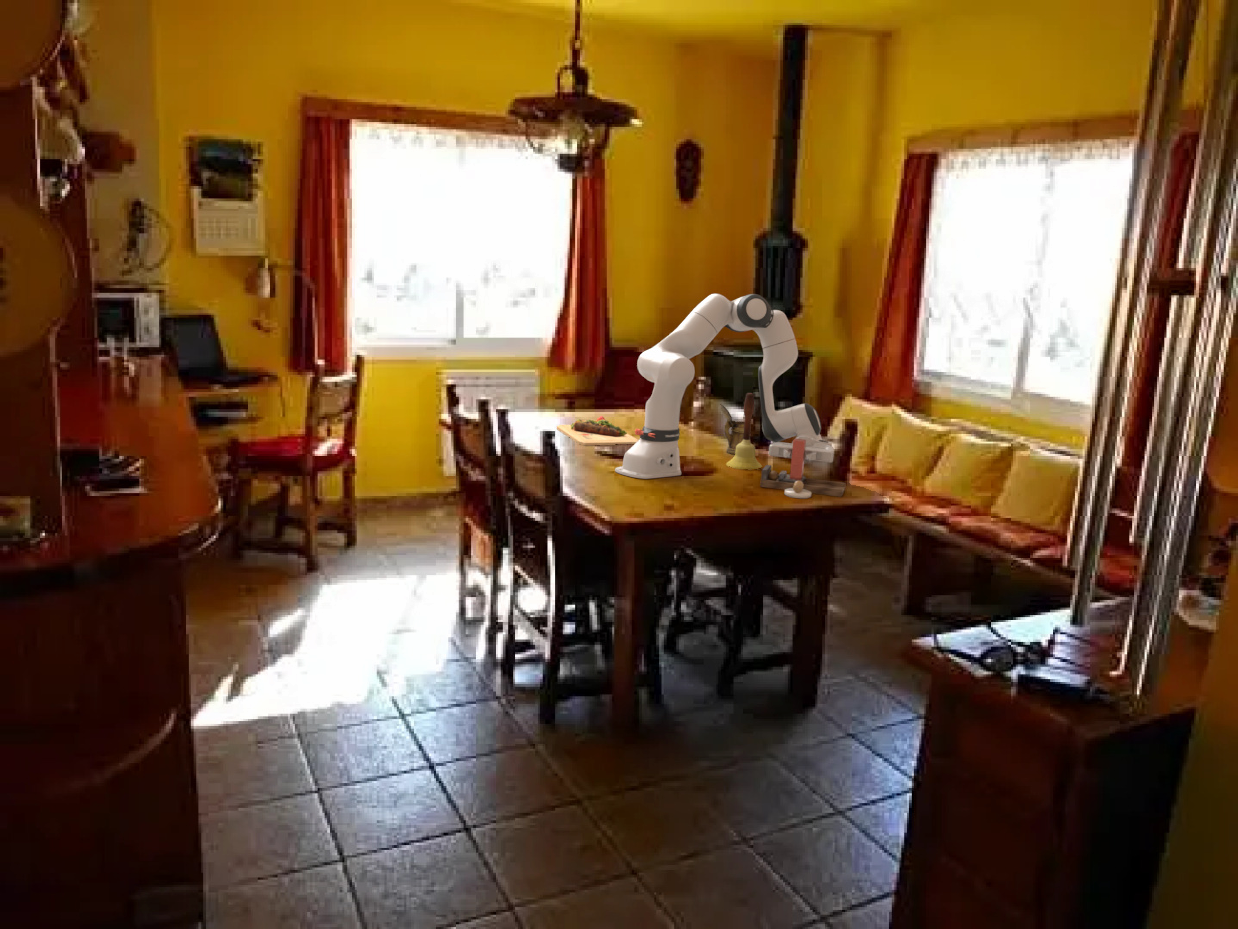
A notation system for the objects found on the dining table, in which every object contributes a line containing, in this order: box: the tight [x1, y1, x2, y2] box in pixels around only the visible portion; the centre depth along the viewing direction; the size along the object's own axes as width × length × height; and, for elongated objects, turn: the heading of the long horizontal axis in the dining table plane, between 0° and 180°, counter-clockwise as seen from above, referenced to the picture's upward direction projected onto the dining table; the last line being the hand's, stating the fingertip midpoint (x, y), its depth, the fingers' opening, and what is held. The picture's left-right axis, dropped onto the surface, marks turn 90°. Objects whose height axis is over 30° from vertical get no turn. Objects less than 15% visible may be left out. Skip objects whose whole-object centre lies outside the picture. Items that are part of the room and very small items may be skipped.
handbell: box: [725, 392, 763, 471], centre depth 328 cm, size 12×12×25 cm
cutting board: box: [556, 415, 639, 447], centre depth 369 cm, size 35×23×8 cm
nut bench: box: [759, 464, 846, 498], centre depth 301 cm, size 25×10×5 cm, turn 71°
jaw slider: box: [778, 438, 807, 484], centre depth 301 cm, size 8×7×14 cm
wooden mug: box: [719, 404, 752, 455], centre depth 349 cm, size 9×14×18 cm, turn 108°
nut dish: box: [784, 481, 812, 499], centre depth 292 cm, size 8×8×4 cm
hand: (797, 456), depth 300 cm, fingers open, 5 cm apart
